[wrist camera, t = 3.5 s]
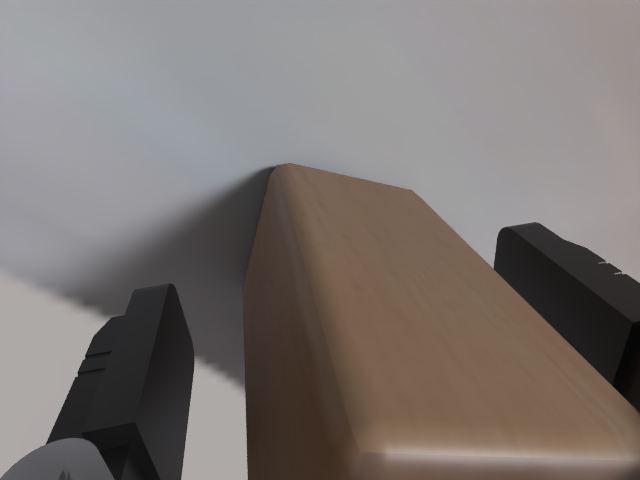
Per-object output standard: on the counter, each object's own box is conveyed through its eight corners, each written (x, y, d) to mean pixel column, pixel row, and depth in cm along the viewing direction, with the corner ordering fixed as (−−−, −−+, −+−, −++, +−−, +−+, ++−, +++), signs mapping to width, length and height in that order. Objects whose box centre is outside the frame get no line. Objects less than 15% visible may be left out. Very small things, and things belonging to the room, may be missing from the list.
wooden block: (239, 291, 12) (246, 690, 5) (272, 154, 10) (351, 456, 3) (371, 309, 13) (530, 653, 6) (419, 187, 11) (716, 466, 4)
